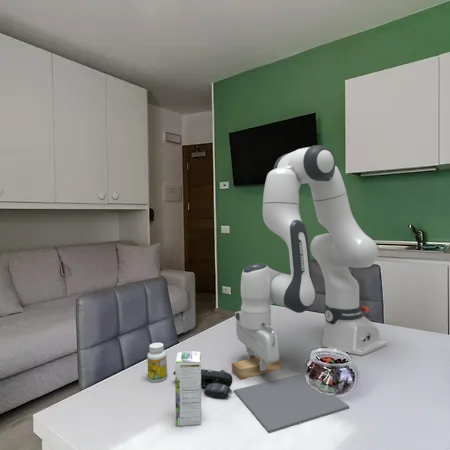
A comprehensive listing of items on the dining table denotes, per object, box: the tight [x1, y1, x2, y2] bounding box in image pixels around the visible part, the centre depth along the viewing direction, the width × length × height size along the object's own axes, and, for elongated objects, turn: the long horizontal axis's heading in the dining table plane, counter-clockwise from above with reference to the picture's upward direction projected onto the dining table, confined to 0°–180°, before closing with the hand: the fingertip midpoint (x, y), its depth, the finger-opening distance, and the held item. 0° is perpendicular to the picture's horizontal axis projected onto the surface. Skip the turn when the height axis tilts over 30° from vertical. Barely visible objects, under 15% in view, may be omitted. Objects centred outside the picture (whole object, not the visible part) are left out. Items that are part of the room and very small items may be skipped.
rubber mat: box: [233, 372, 350, 434], centre depth 83 cm, size 22×18×1 cm
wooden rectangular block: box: [231, 356, 282, 380], centre depth 99 cm, size 14×5×3 cm, turn 117°
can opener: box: [173, 368, 233, 399], centre depth 90 cm, size 18×7×6 cm, turn 64°
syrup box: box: [174, 350, 202, 427], centre depth 76 cm, size 6×6×14 cm
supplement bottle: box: [146, 342, 168, 383], centre depth 95 cm, size 5×5×10 cm
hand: (256, 365), depth 99 cm, fingers closed on wooden rectangular block, 5 cm apart
